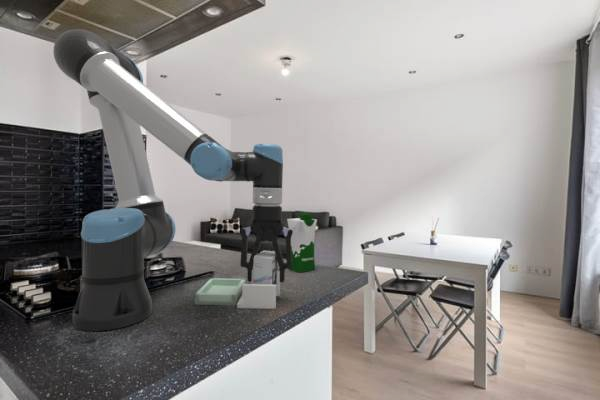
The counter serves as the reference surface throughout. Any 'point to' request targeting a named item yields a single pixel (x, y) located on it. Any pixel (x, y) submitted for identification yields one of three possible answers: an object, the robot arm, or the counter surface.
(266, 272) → the ink box
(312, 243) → the milk carton
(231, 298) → the tray
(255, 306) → the bay
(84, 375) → the counter surface
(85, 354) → the counter surface
